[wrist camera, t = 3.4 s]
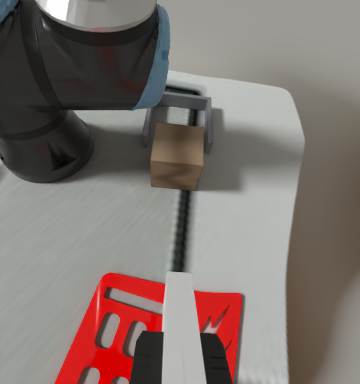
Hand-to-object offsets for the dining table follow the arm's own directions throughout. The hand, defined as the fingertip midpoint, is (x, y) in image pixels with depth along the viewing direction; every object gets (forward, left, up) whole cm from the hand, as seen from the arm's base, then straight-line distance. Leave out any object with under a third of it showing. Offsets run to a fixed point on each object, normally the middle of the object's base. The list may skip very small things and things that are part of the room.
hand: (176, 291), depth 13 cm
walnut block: (0, +22, -19) cm, 29 cm away
